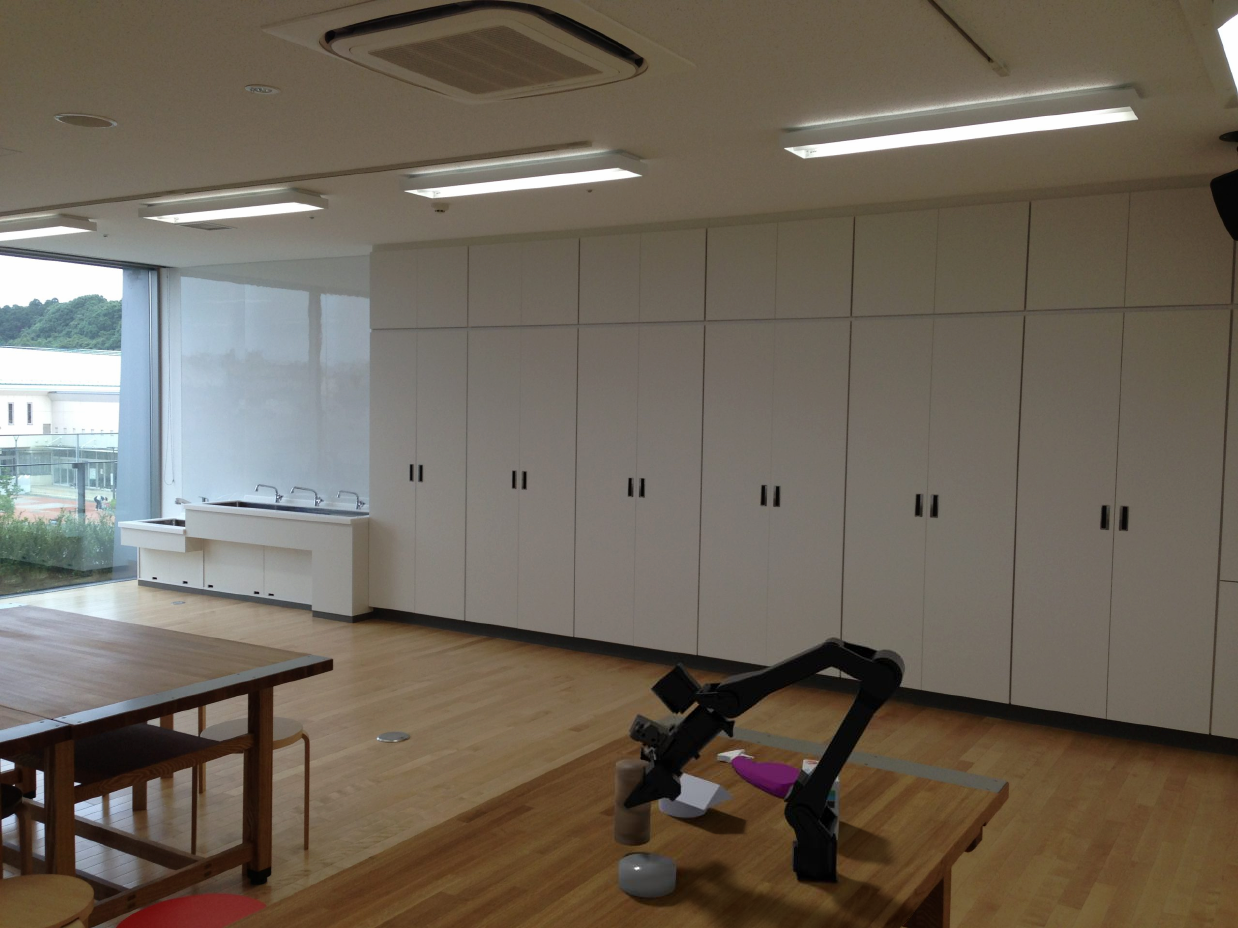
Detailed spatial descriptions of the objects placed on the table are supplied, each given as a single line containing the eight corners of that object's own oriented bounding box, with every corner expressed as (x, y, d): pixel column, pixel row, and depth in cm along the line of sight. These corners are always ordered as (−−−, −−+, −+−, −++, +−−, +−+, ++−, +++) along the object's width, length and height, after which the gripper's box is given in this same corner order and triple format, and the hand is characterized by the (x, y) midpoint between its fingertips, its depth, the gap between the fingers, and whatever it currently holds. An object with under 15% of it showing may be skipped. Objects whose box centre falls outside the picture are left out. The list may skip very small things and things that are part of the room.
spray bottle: (776, 801, 199) (705, 763, 220) (820, 792, 204) (747, 756, 226) (777, 786, 199) (706, 750, 220) (821, 777, 204) (747, 743, 225)
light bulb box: (838, 842, 179) (840, 781, 179) (799, 838, 181) (801, 777, 180) (837, 818, 190) (840, 761, 189) (800, 815, 191) (802, 758, 190)
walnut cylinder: (650, 831, 175) (652, 759, 174) (649, 846, 169) (650, 771, 168) (615, 830, 175) (617, 758, 175) (612, 844, 169) (614, 770, 169)
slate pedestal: (675, 872, 165) (676, 854, 165) (675, 898, 156) (675, 879, 156) (620, 869, 166) (620, 851, 166) (616, 895, 157) (616, 876, 157)
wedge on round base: (733, 814, 190) (679, 795, 199) (734, 779, 190) (680, 761, 199) (703, 828, 184) (648, 807, 193) (704, 791, 184) (649, 772, 192)
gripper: (655, 686, 181) (591, 747, 181) (662, 717, 162) (590, 785, 162) (699, 731, 181) (635, 791, 181) (710, 767, 162) (639, 834, 163)
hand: (624, 799), depth 172 cm, fingers closed on walnut cylinder, 6 cm apart
